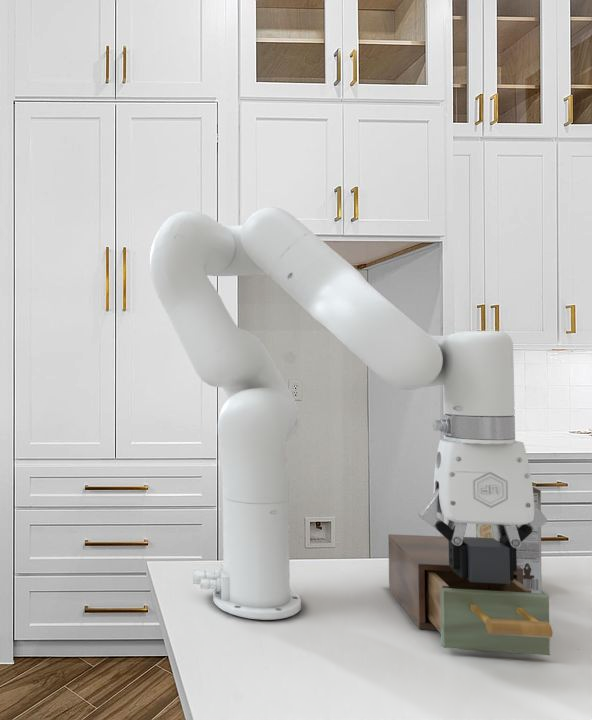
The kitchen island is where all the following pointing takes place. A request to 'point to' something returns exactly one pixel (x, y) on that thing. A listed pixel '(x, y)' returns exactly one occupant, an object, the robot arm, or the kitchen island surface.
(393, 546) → the cabinet
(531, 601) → the drawer
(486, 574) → the block
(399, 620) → the kitchen island surface
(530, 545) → the coffee box
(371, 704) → the kitchen island surface
